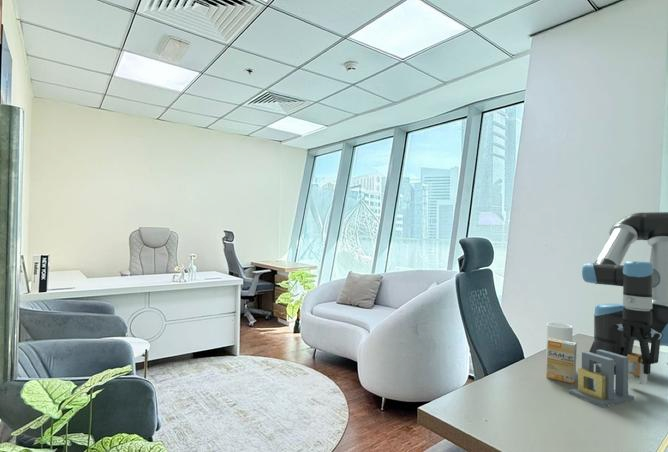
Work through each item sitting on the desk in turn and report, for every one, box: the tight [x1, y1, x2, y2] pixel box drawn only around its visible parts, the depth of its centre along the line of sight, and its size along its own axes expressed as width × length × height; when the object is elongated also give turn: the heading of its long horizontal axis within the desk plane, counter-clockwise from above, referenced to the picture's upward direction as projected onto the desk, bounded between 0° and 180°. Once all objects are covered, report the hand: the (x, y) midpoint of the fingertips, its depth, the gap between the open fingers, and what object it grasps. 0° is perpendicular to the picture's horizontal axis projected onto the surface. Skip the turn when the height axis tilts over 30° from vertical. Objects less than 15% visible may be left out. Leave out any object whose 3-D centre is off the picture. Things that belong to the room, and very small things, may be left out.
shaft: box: [594, 352, 643, 377], centre depth 119 cm, size 20×3×6 cm, turn 113°
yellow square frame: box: [577, 367, 606, 400], centre depth 113 cm, size 2×7×7 cm, turn 23°
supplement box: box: [545, 338, 578, 385], centre depth 129 cm, size 8×5×13 cm, turn 50°
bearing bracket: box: [568, 350, 635, 408], centre depth 115 cm, size 15×10×13 cm, turn 113°
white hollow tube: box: [545, 322, 573, 368], centre depth 140 cm, size 8×8×16 cm
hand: (636, 380), depth 122 cm, fingers closed on shaft, 3 cm apart
